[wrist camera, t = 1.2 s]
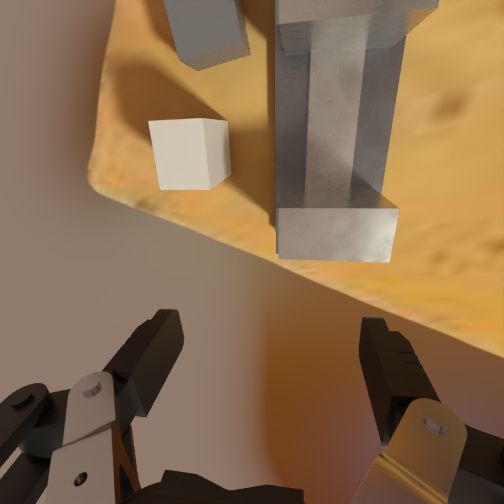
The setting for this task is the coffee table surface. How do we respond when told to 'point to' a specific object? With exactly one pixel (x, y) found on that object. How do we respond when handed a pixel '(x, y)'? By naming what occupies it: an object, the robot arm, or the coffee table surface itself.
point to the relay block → (207, 31)
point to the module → (191, 153)
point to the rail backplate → (337, 124)
